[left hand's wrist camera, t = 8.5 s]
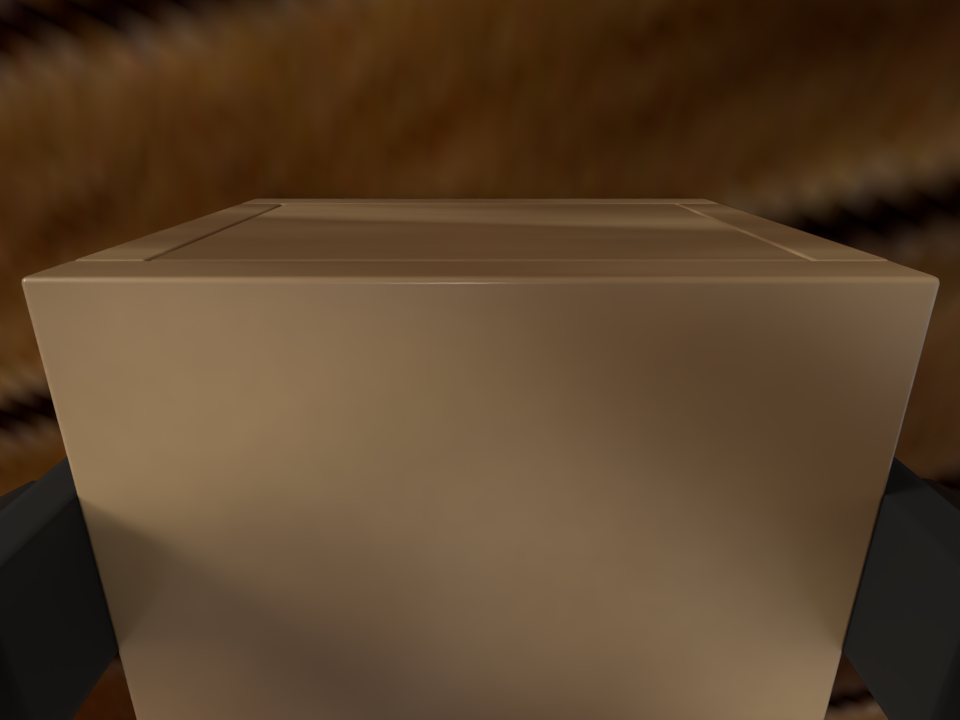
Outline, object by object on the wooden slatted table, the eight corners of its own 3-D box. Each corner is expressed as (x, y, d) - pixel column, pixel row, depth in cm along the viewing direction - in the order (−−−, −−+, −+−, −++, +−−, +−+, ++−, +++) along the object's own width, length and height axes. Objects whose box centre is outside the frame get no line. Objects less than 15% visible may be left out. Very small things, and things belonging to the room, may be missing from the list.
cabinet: (643, 708, 21) (738, 1051, 13) (317, 708, 21) (222, 1051, 13) (706, 198, 15) (944, 277, 7) (254, 198, 15) (16, 276, 7)
